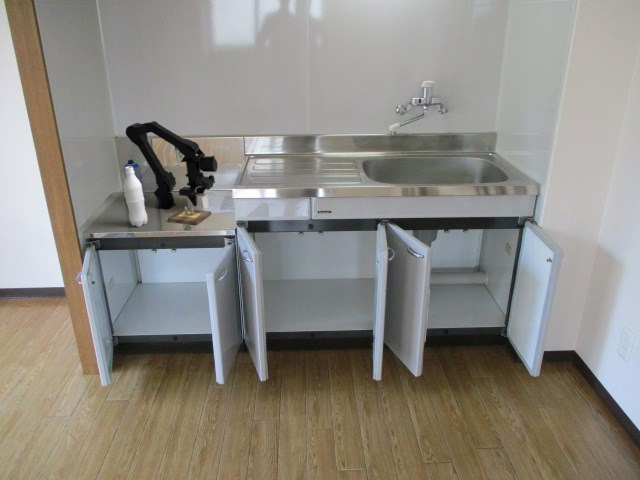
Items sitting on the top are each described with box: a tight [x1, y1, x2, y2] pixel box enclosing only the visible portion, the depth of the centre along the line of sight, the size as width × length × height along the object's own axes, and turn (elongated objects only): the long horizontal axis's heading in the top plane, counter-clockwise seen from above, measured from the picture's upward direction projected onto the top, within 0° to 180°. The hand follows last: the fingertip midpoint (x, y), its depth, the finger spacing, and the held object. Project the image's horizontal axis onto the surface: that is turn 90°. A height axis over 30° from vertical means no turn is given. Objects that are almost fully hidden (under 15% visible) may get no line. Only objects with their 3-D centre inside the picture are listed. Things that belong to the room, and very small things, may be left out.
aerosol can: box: [122, 159, 148, 203], centre depth 232 cm, size 8×8×20 cm
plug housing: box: [186, 193, 210, 211], centre depth 227 cm, size 8×4×6 cm, turn 72°
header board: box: [167, 205, 212, 226], centre depth 216 cm, size 14×12×5 cm
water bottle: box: [122, 166, 148, 227], centre depth 206 cm, size 7×7×25 cm
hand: (198, 204), depth 228 cm, fingers closed on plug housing, 4 cm apart
